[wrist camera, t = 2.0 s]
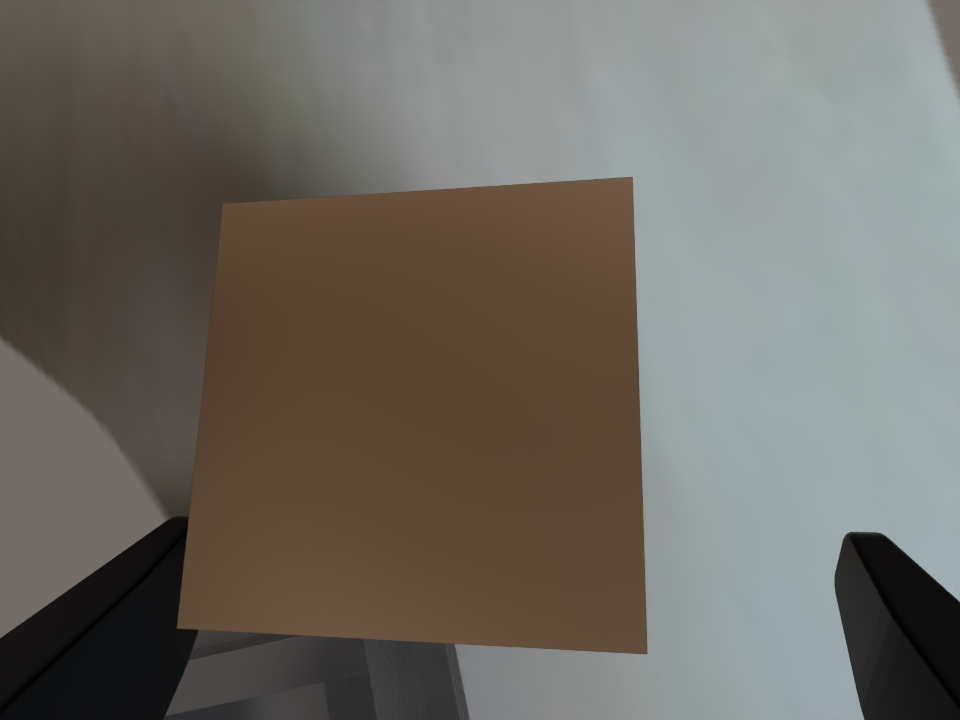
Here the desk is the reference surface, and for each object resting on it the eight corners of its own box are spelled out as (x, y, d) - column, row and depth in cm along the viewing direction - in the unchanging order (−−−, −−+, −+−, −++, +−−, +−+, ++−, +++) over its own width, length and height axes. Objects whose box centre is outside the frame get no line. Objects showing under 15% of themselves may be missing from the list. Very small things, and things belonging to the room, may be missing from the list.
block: (618, 551, 18) (647, 653, 5) (486, 546, 19) (176, 627, 5) (614, 418, 19) (632, 176, 5) (488, 419, 19) (222, 204, 6)
